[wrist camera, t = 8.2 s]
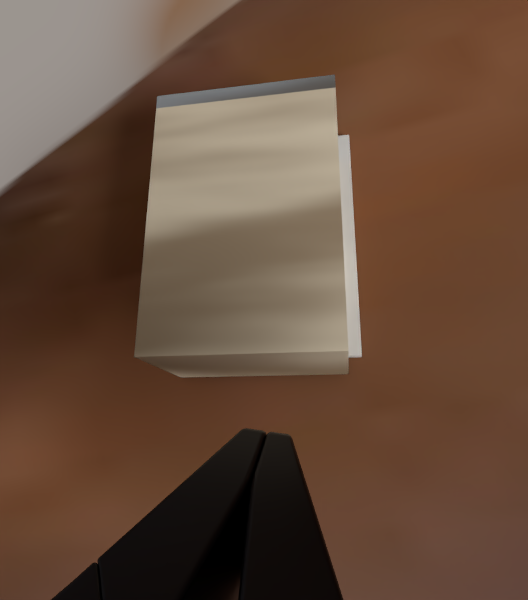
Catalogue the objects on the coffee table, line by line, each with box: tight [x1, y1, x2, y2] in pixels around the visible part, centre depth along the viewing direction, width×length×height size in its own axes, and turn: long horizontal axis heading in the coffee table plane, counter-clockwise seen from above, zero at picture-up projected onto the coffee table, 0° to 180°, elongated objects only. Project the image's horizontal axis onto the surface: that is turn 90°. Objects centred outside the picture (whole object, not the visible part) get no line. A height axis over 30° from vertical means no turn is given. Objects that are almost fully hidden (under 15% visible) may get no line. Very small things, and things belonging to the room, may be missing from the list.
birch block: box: [134, 75, 348, 377], centre depth 16 cm, size 4×6×9 cm
